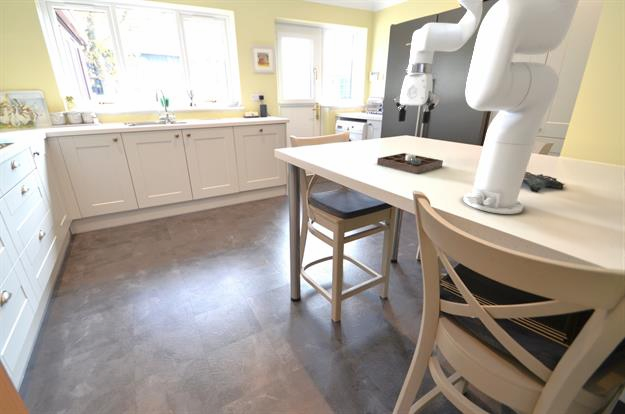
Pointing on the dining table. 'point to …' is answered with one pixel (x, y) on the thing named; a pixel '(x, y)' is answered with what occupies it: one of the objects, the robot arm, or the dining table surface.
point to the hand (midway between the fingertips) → (412, 122)
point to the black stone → (415, 161)
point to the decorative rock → (540, 181)
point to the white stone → (409, 156)
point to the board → (404, 165)
